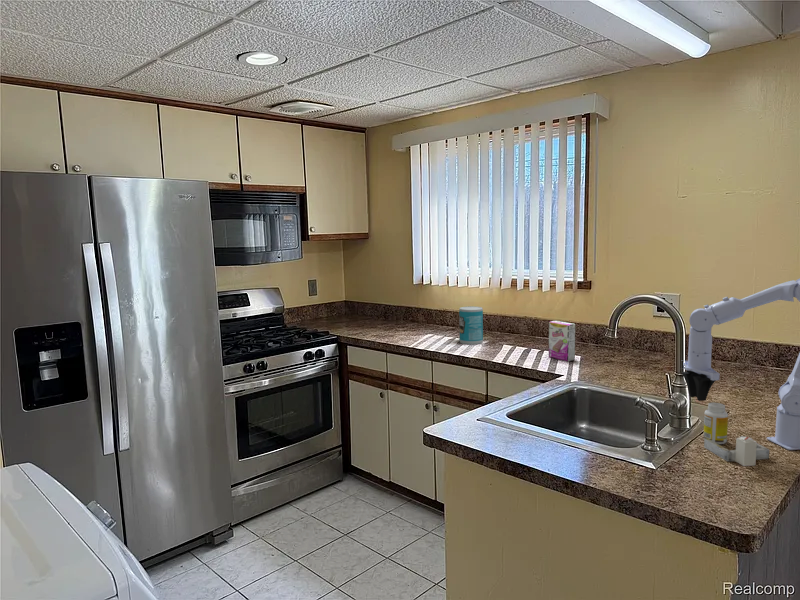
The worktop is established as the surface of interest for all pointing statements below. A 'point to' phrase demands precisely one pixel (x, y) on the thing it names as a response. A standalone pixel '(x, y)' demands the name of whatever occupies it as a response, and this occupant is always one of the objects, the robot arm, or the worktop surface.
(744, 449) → the block
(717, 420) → the supplement bottle
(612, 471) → the worktop surface
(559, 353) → the candy bar box
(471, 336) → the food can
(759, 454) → the scale bay
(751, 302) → the robot arm
